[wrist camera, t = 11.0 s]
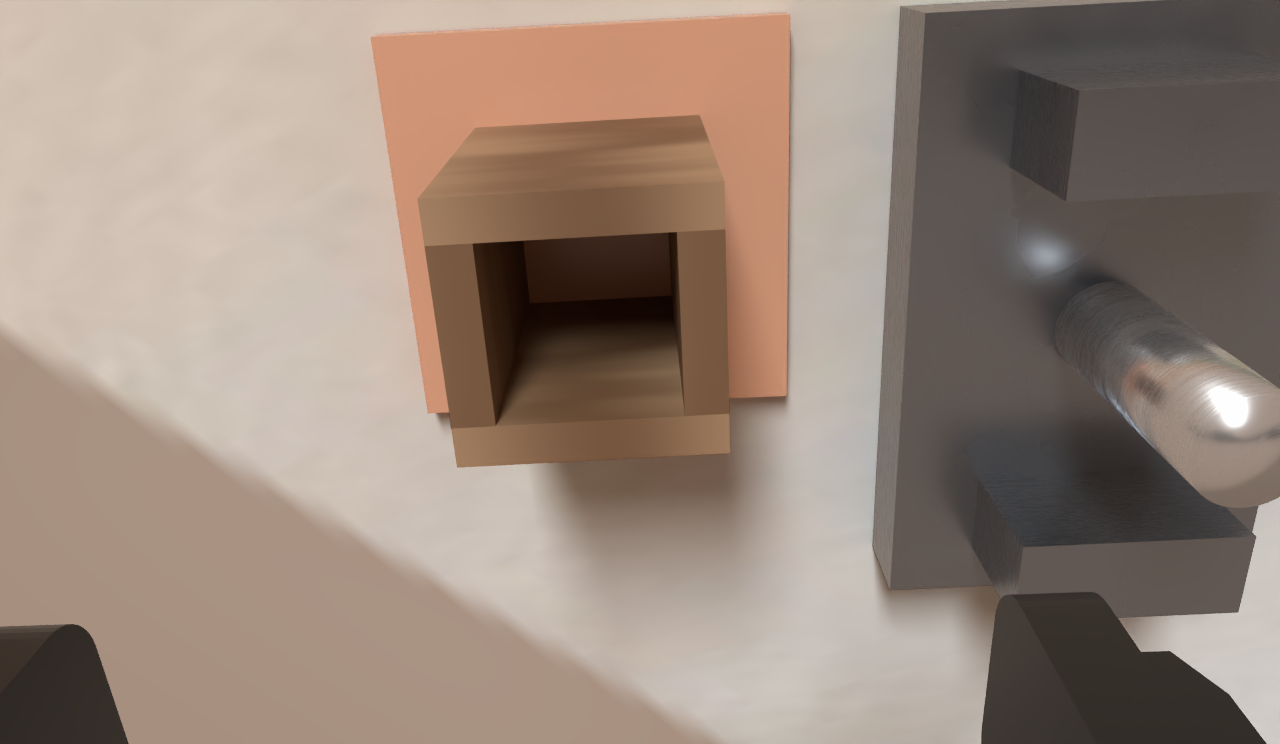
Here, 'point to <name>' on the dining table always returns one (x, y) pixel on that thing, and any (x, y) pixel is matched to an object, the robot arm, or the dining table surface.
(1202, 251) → the grey clamp base
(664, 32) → the tile
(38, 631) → the robot arm
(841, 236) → the dining table surface
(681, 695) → the dining table surface
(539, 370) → the sleeve
